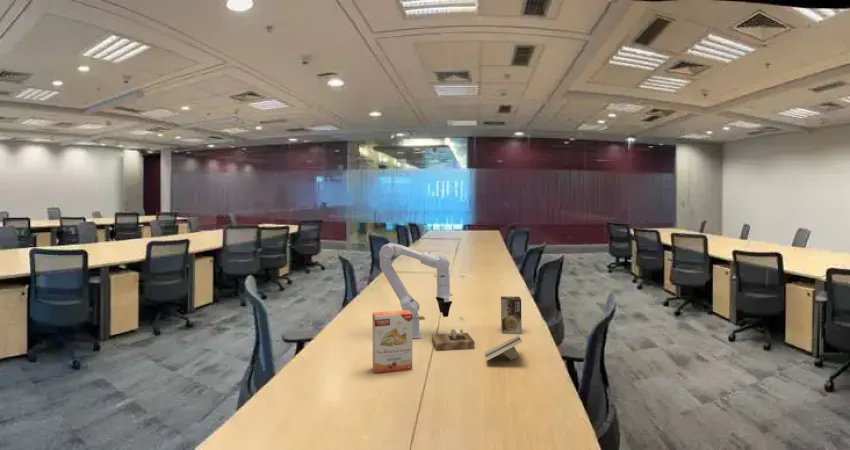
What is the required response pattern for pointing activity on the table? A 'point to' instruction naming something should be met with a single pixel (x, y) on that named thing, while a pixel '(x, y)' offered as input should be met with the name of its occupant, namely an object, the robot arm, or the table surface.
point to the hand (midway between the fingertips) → (443, 314)
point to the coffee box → (511, 315)
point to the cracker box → (392, 341)
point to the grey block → (454, 335)
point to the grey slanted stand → (505, 349)
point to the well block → (452, 342)
